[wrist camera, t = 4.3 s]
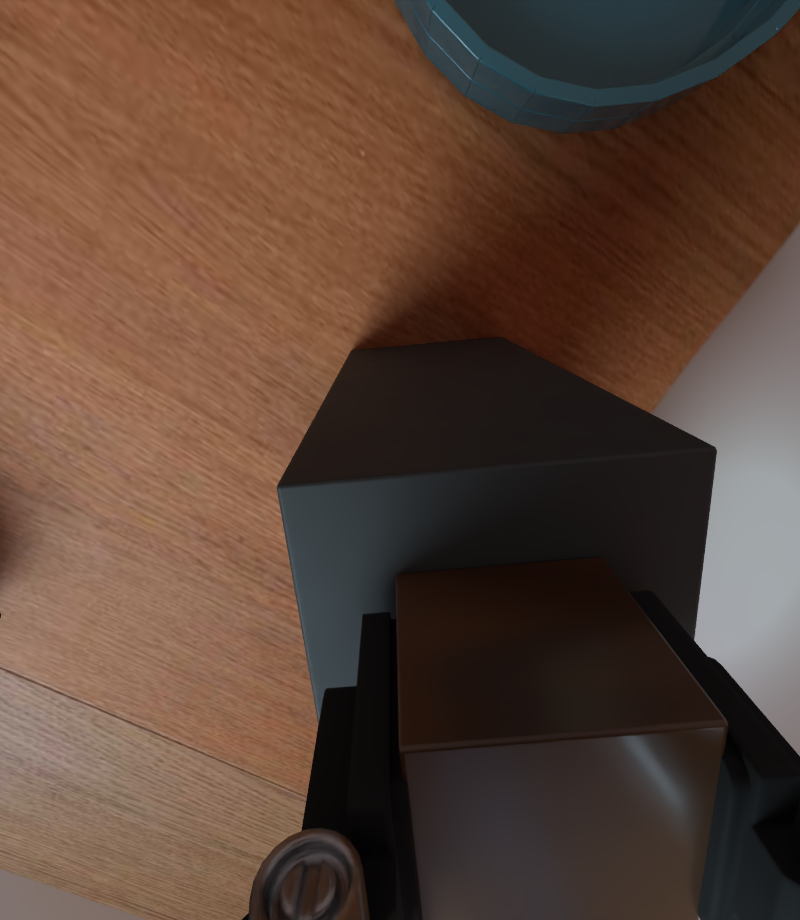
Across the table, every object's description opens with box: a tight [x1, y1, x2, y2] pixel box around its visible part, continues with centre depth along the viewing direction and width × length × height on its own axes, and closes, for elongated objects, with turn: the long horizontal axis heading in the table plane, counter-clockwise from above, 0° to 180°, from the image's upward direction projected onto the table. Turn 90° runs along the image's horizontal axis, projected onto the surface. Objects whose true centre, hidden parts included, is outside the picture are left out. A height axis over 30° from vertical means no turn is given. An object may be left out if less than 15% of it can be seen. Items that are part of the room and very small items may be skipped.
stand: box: [277, 337, 717, 724], centre depth 20 cm, size 8×8×19 cm
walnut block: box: [396, 557, 728, 920], centre depth 9 cm, size 4×4×4 cm
